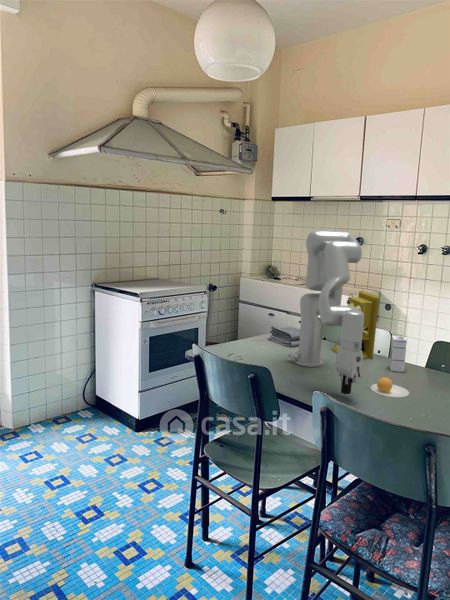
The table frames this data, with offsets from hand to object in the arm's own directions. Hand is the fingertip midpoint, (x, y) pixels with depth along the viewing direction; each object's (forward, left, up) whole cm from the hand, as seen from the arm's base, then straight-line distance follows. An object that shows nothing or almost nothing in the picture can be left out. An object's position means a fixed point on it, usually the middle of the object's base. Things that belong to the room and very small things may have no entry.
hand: (345, 393), depth 165 cm
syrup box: (+27, +38, -2) cm, 47 cm away
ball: (+16, +9, +1) cm, 18 cm away
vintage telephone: (+11, +59, -2) cm, 60 cm away
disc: (+18, +10, -2) cm, 21 cm away
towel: (-18, +72, -2) cm, 74 cm away
